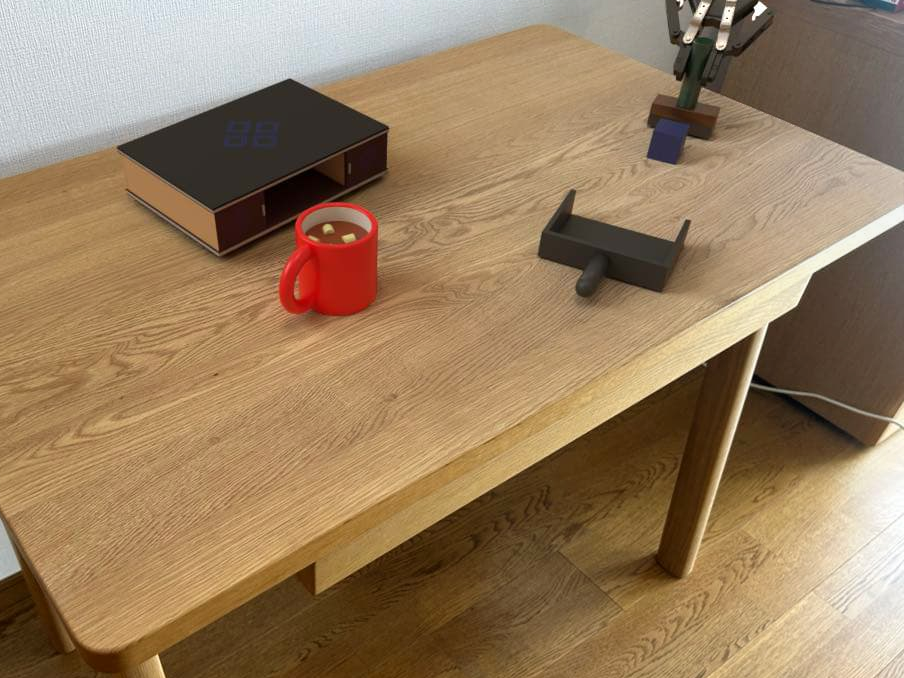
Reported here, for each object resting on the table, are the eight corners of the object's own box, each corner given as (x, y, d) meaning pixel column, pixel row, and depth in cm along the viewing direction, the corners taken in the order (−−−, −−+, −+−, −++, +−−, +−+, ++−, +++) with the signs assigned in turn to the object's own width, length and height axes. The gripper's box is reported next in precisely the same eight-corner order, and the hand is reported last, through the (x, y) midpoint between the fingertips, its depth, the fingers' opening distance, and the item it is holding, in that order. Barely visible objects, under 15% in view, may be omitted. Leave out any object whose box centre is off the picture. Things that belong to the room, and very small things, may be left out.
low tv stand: (388, 179, 103) (390, 126, 98) (220, 264, 91) (213, 208, 86) (292, 128, 112) (289, 77, 107) (127, 199, 99) (116, 146, 95)
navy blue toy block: (653, 145, 109) (660, 118, 107) (682, 151, 108) (690, 124, 106) (646, 157, 107) (653, 130, 105) (675, 164, 106) (683, 137, 103)
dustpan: (566, 214, 98) (571, 188, 96) (683, 246, 94) (691, 220, 91) (516, 287, 88) (520, 261, 86) (644, 326, 84) (652, 300, 82)
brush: (714, 129, 112) (740, 42, 104) (708, 139, 110) (735, 52, 102) (652, 115, 114) (674, 30, 107) (646, 124, 112) (667, 38, 105)
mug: (255, 316, 85) (248, 248, 79) (331, 259, 91) (329, 193, 86) (318, 348, 81) (315, 279, 76) (392, 286, 88) (394, 219, 83)
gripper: (685, -84, 104) (633, 56, 105) (807, -66, 99) (752, 80, 100) (684, -49, 111) (635, 82, 112) (798, -31, 106) (746, 106, 107)
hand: (691, 80), depth 106 cm, fingers closed on brush, 2 cm apart
